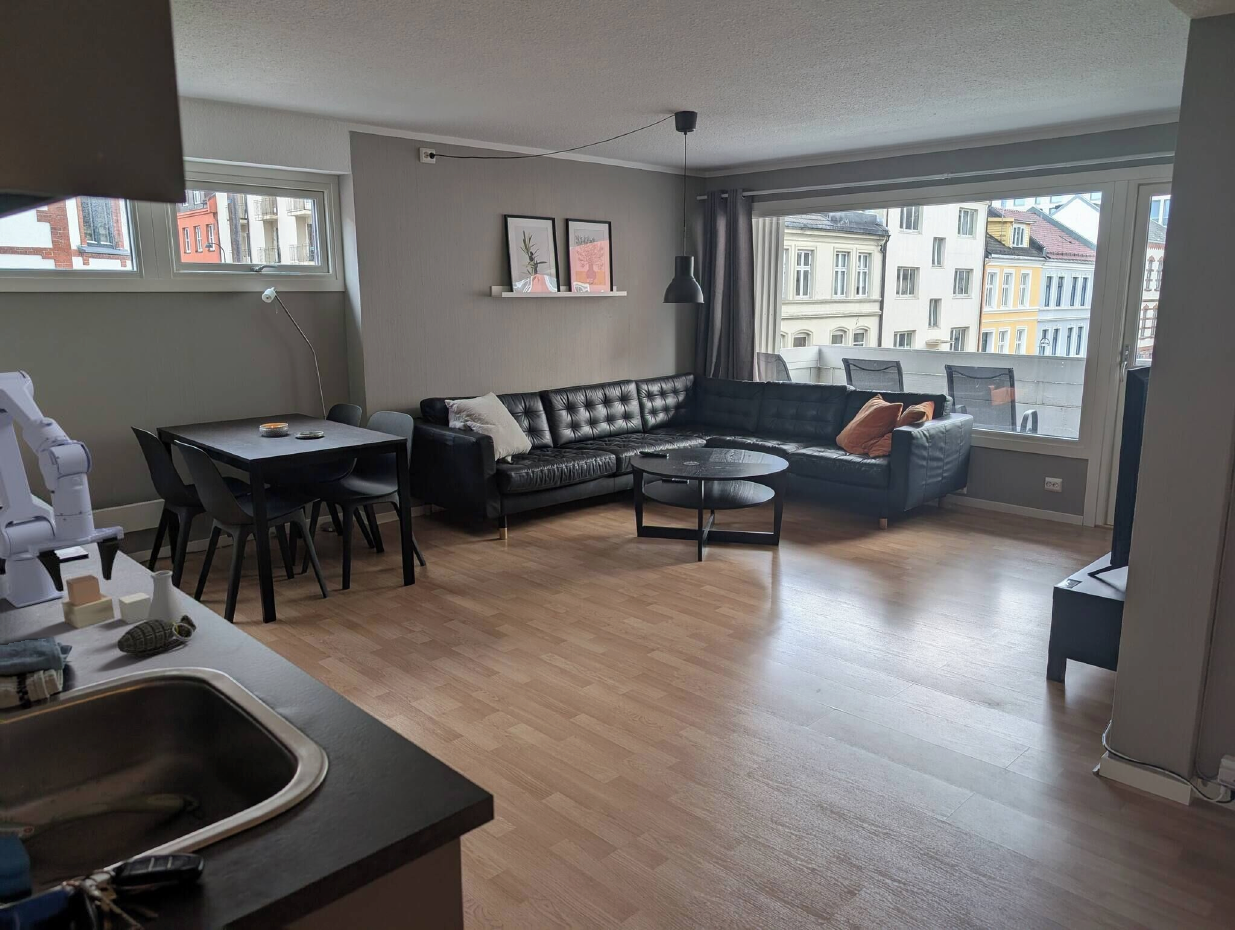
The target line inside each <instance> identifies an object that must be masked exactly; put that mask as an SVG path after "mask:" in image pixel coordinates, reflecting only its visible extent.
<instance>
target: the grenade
mask: <svg viewBox="0 0 1235 930" xmlns="http://www.w3.org/2000/svg"><path fill="white" fill-rule="evenodd" d="M189 616H190V615H189ZM189 616H187V615H183V616H182V618H181V620H180V622H178V623H171V622H164V621H163V620H161V619H155V620H149V621H147V620H146V621H143V622H141V623H138V624H136V625H134V626H133V627H131V628H130V629H128V630H127V631H126V632H125V633H124V634H123V635H122V636H120V637H119V639H118V641H117V648H118V650H119V651H120V652H121V653H124V654H125V653H126V654H131V655H137V656H136V659H140V658H144V657H149V656H153V655H157V654H161V653H163V652H166V651H167V650H171V649H172V648H175V647H177V646H179V645H182V644H183V643H184V642H188V641H190V640H192V639H193V637H194V634H195V631H196V630H197V626H196V624H195V622H193V619H192V618H191V616H190V617H189ZM190 618H191V619H192V620H191V619H190ZM181 621H182V622H181ZM173 638H175V639H177V640H179V641H177V642H176V643H173V644H171V645H169V644H170V643H171V640H172V639H173ZM160 652H161V653H160Z"/></svg>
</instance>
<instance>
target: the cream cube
mask: <svg viewBox="0 0 1235 930" xmlns="http://www.w3.org/2000/svg"><path fill="white" fill-rule="evenodd" d="M151 603H152V599H151V596H149V595H148V594H146V593H144V592H142V591H140V592H138V593H134V594H133V593H132V594H130V595H126V596H122V597H121V596H120V597H118V604H119V605H118V606H119V612H120V618H121V619H122V620H123V621H124V622H126V623H128V624H129V625H130V623H131V624H134V623H137V622H142V621H144V620H147V618H148V614H149V611H150V607H151ZM141 620H142V621H141Z"/></svg>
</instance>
